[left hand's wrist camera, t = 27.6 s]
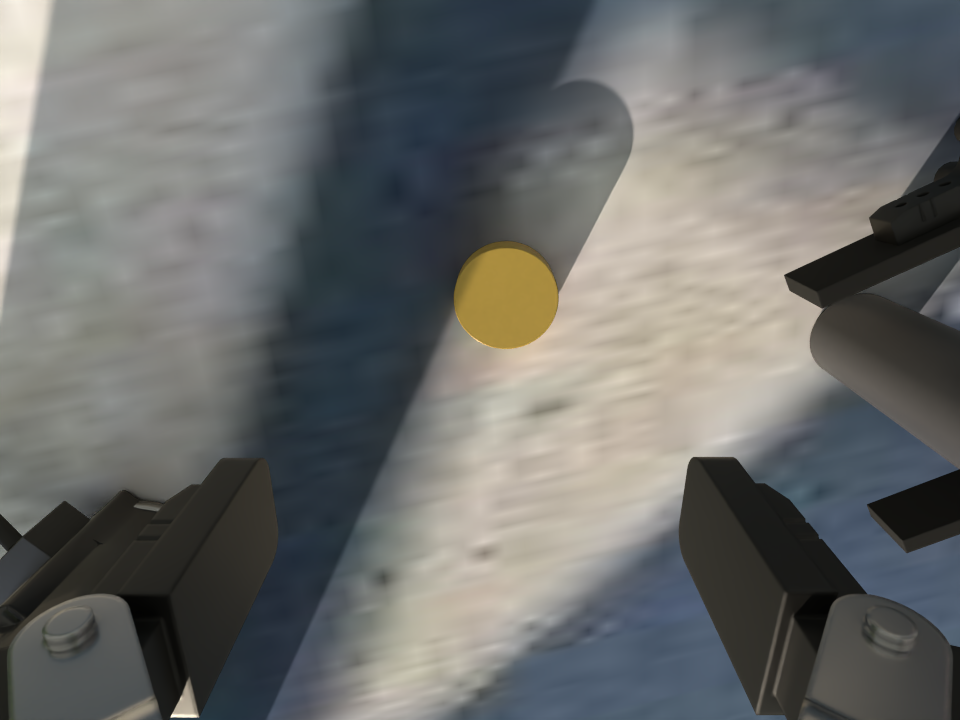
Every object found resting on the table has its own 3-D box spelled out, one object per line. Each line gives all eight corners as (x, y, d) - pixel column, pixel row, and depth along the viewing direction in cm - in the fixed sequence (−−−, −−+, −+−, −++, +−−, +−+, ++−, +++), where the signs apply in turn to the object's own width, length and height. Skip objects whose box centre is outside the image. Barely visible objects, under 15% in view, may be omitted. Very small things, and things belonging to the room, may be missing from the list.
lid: (553, 236, 29) (556, 243, 28) (557, 333, 31) (560, 345, 29) (451, 245, 30) (448, 252, 28) (461, 340, 31) (459, 352, 30)
